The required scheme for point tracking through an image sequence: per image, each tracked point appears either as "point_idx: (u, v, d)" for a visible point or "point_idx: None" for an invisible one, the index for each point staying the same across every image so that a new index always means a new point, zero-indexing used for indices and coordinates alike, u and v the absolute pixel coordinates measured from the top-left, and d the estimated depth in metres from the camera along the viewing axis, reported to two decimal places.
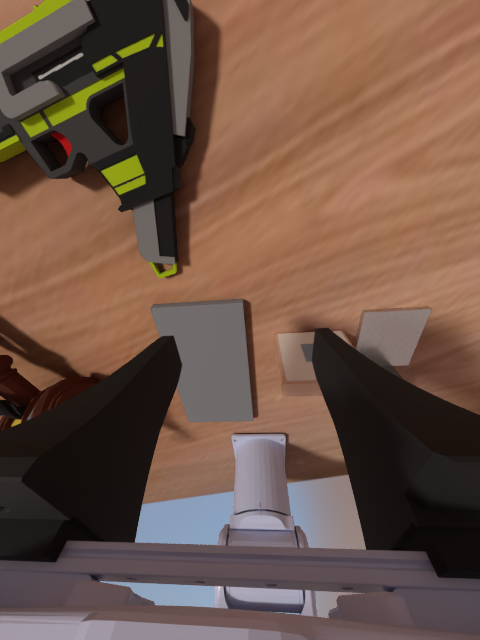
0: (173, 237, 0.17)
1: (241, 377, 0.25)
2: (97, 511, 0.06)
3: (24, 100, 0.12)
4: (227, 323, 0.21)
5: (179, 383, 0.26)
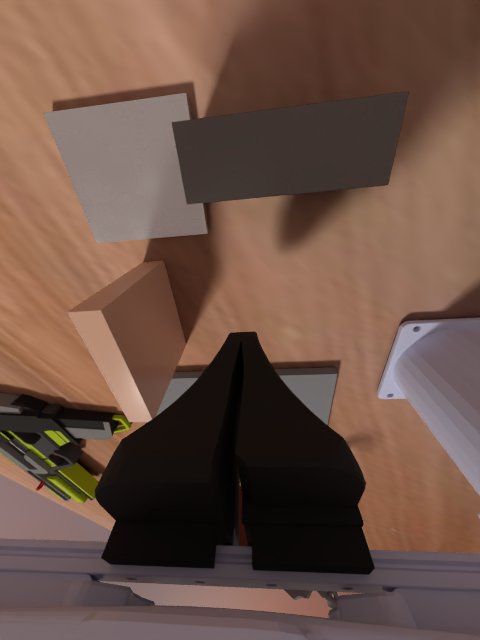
0: (88, 419, 0.22)
1: None
2: (229, 514, 0.05)
3: (37, 466, 0.25)
4: None
5: None
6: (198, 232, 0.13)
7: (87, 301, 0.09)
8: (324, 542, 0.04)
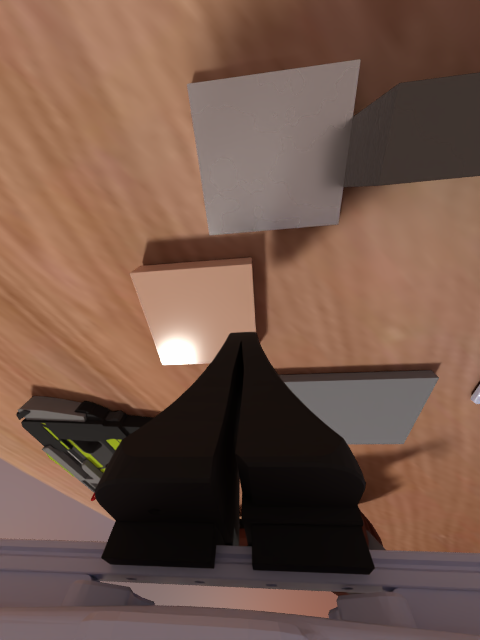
0: None
1: (325, 389, 0.18)
2: (229, 514, 0.05)
3: (93, 475, 0.23)
4: None
5: None
6: (328, 223, 0.12)
7: (153, 265, 0.13)
8: (324, 542, 0.04)
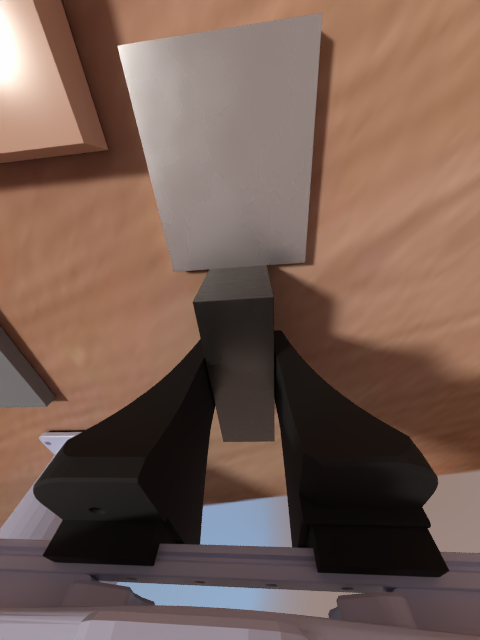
0: None
1: None
2: (179, 513, 0.05)
3: None
4: None
5: None
6: (173, 260, 0.10)
7: None
8: (391, 544, 0.04)
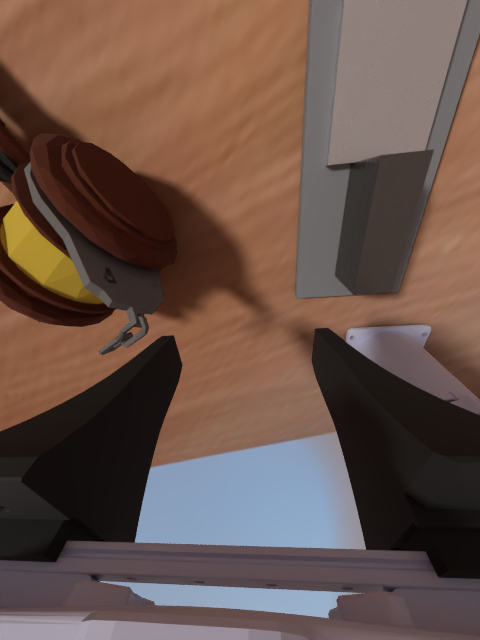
0: None
1: None
2: (97, 511, 0.06)
3: None
4: None
5: (307, 205, 0.16)
6: (330, 155, 0.14)
7: None
8: None
